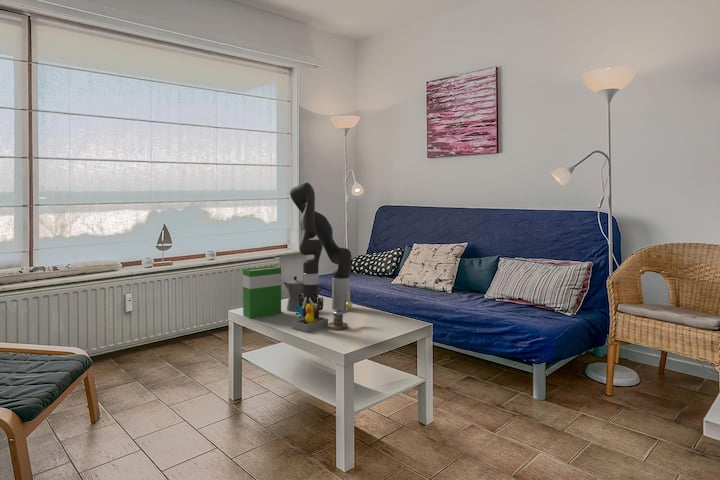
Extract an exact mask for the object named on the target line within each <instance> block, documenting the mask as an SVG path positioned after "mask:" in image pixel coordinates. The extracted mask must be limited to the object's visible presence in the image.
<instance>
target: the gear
mask: <svg viewBox="0 0 720 480" xmlns="http://www.w3.org/2000/svg"><path fill="white" fill-rule="evenodd" d="M298 305H299V303H298ZM298 305H296V306H295V307H296V308H298V310H297V309H296V308H295V310H294V311H295V315H296V316H298V318H299V319H303V318H305V317H306V316H305V317H304V316H303V314H302V307H298Z"/></svg>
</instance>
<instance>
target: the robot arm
mask: <svg viewBox="0 0 720 480" xmlns="http://www.w3.org/2000/svg"><path fill="white" fill-rule="evenodd" d="M289 195H290V198H291V200H292V202H293V203H294V205H295V206H296V208H297V209H298V210H299V211H300V212H301V216H300V221H299V223H300V224H299V226H300V241H299V248H298V249H299V250H298V251H299V252H300V254H301V255H303V256H311V255H312V258H309V259H306V260H304V261H303V262H302V281H303V292H302V294H299V295H298V296H299V306H300V307H302V314H303V318H304V317H305V316H306V315H307V313H306V305H307V304H308V303H311V305H312V307H313V308H314V310H315V311H314V319H318V318H319V317H320V312H321V311H322V310H323V309H324V297H323V296H321V297H320V296H319V292H320V286H319V285H320V275H319V263H320V258H321V254H322V251H323V248H324V250H325V253H326V254H327V257H328V258H329V260H330V262H331V264H332V263H333V265H334V264H335V265H337V269H336V270H333V271H332V274H331V277H332V278H331V279H332V281H331V283H332V284H331V285H332V286H331V291H332V292H331V302H332V303H331V308H332V310H335V311H341V310H344V309H346V302H351V290H350V274H351V271H352V252H351V251H350V249H349V248H346V247H340V246H338V245H337V243H336V241H334V238H333V227H332V225H331V223H330V221H329V219H328V218H327V217H326V216H325V215H323V214H322V213H320V212H318V211H316V210H315V209H316V203H315V202H316V196H315V190H314V188H313V186H312V185H311V184H310V183H309V182H304V183H301V184H299V185H297V186H294V187H292V188H290V190H289ZM315 237H317V239H314V238H315ZM301 301H302V304H301Z"/></svg>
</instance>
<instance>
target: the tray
mask: <svg viewBox="0 0 720 480" xmlns="http://www.w3.org/2000/svg"><path fill="white" fill-rule="evenodd" d="M328 324H329V318H327V317H322V316H319V318H318V319H317V321H316V322H314V323H310V324H308V323H307V322H306V320H305V318H304V317H302V318H301V319H300V318H299V319H296V320H293V321H292V329H293V330H295V331H300V332H304V333H310V332H312V331H317V330H320V329H324V328H326V327H328Z"/></svg>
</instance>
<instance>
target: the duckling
mask: <svg viewBox="0 0 720 480" xmlns="http://www.w3.org/2000/svg"><path fill="white" fill-rule="evenodd" d="M314 311H315V310H314V308H313V307H312V305H311V303H308V304H307V305H306V313H307V315H306V317H305V320H306V322H307V323H308V324H310V323H314V322H316V321H317V319H314Z"/></svg>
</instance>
